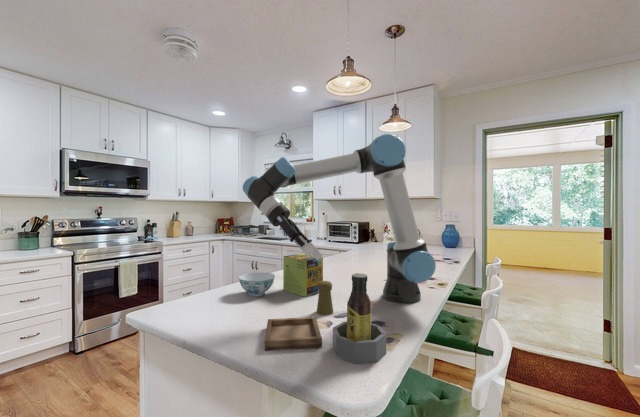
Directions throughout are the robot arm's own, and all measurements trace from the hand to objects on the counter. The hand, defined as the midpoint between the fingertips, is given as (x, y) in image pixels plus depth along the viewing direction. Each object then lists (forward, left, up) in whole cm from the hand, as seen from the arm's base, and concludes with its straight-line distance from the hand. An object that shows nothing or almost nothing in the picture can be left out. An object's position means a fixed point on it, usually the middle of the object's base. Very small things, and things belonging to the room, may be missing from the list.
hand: (316, 256), depth 94 cm
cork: (-4, -9, -22) cm, 24 cm away
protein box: (+2, -36, -22) cm, 42 cm away
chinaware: (+22, -34, -22) cm, 46 cm away
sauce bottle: (-9, +19, -22) cm, 31 cm away
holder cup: (-9, +19, -22) cm, 30 cm away
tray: (+8, +9, -22) cm, 25 cm away
